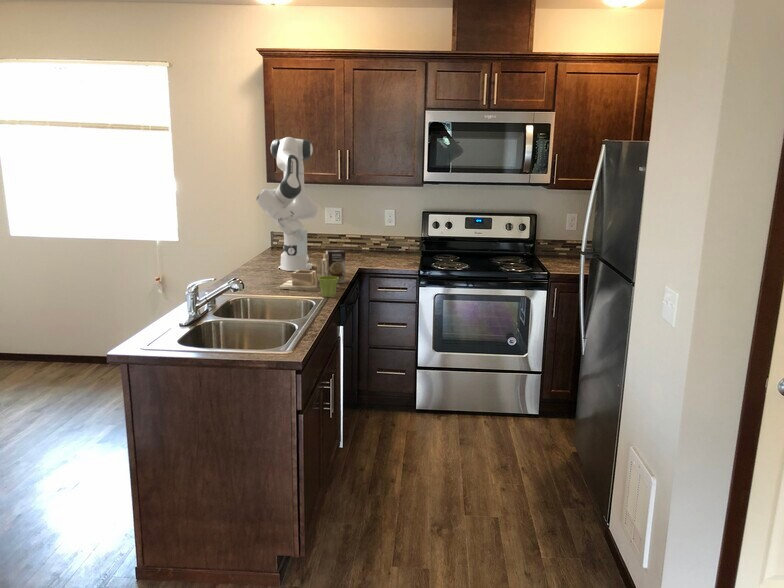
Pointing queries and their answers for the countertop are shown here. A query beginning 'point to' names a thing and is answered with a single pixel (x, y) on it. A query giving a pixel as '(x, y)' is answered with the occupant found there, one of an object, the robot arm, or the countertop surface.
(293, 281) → the caddy
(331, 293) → the plant pot
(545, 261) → the countertop surface
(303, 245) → the block
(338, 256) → the coffee box
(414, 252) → the countertop surface
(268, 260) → the countertop surface
